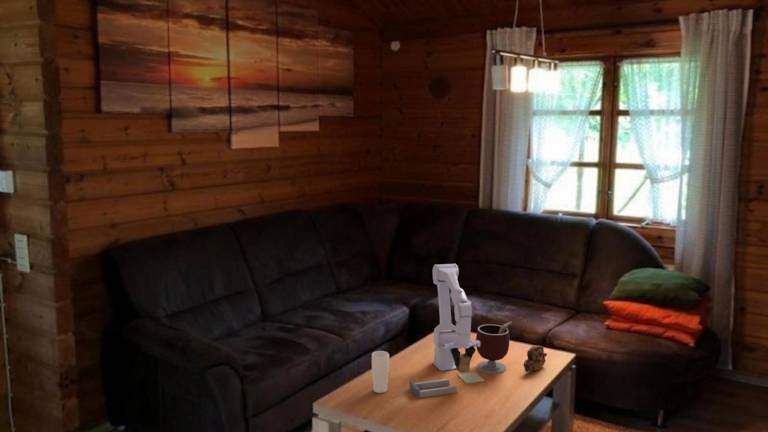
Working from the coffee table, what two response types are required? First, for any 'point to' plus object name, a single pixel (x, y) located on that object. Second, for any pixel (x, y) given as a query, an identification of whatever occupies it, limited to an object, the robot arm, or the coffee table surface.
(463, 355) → the block
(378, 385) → the drinking glass
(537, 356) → the wooden carving
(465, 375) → the pad
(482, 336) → the mate gourd
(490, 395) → the coffee table surface
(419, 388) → the channel
